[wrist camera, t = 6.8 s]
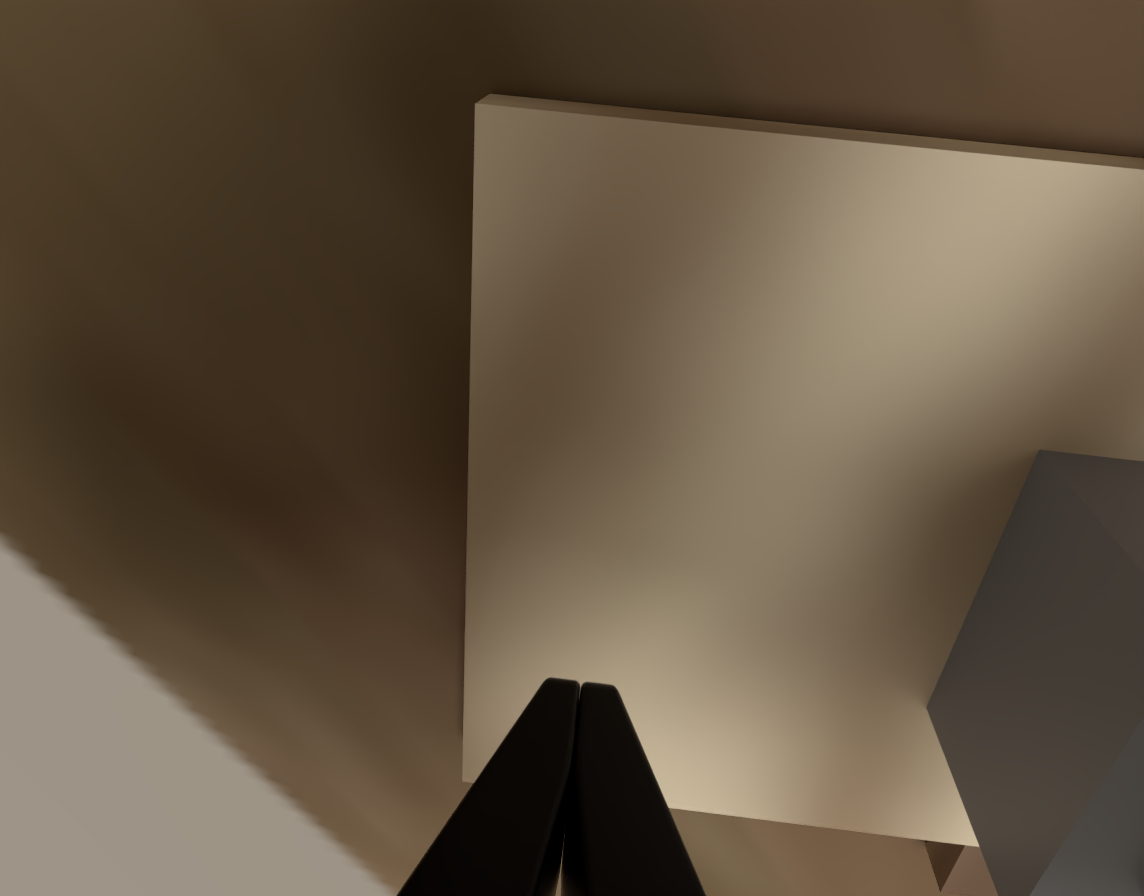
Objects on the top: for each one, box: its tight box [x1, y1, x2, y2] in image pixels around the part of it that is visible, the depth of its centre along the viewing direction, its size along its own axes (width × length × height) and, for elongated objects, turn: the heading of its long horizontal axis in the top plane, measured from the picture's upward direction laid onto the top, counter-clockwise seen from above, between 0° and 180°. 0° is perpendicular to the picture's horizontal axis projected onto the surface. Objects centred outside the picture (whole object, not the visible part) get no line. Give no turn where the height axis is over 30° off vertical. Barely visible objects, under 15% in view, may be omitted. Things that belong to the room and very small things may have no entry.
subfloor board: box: [462, 94, 1144, 896], centre depth 12 cm, size 16×15×1 cm
